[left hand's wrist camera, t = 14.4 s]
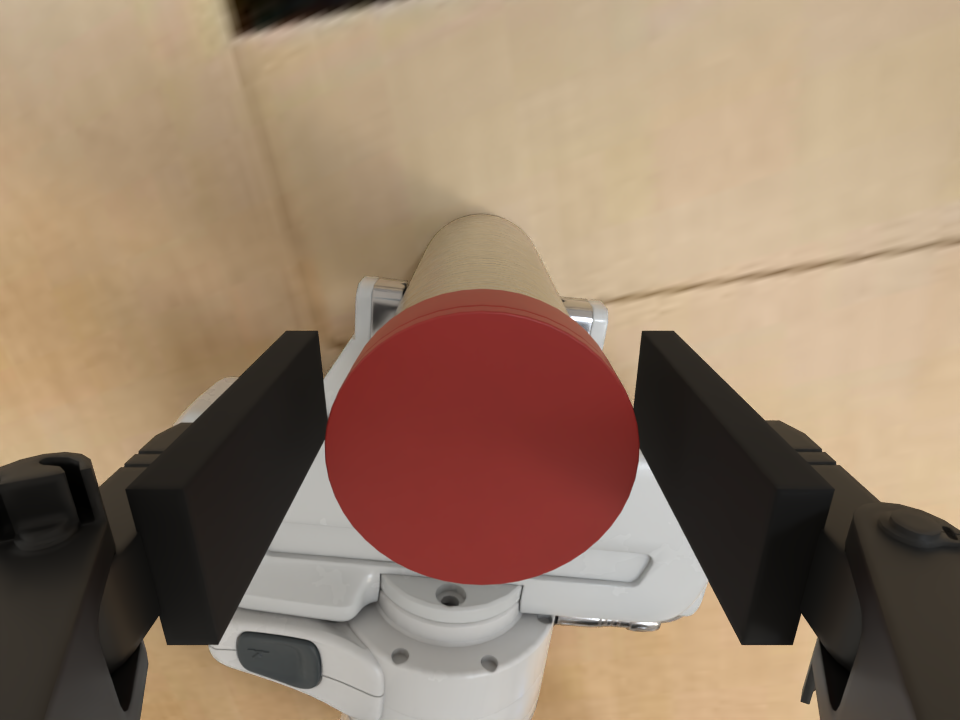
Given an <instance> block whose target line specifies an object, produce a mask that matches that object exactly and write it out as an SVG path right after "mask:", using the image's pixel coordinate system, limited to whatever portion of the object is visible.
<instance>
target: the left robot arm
mask: <svg viewBox="0 0 960 720" xmlns="http://www.w3.org/2000/svg"><path fill="white" fill-rule="evenodd" d="M633 410H634V413H635V417H636V421H637V425H638V433H639V442H640V447H639V448H640V450H641V452H642V454H643V456H644V458H645V460H646V462H647V464H648V465H649V467H650V469H651V471H652V473H653V475H654V477H655V479H656V481H657V483H658V485H659V487H660V489H661V491H662V492H663V494H664V496H665V498H666V500H667V502H668V504H669V506H670V508H671V510H672V512H673V514H674V516H675V517H676V519H677V521H678V523H679V525H680V527H681V529H682V531H683V533H684V535H685V537H686V539H687V541H688V543H689V544H690V546H691V548H692V550H693V552H694V554H695V556H696V558H697V560H698V562H699V564H700V566H701V568H702V569H703V571H704V573H705V575H706V577H707V579H708V581H709V583H710V585H711V587H712V589H713V591H714V593H715V595H716V596H717V598H718V600H719V602H720V604H721V606H722V608H723V610H724V612H725V614H726V616H727V618H728V620H729V621H730V623H731V625H732V627H733V629H734V631H735V633H736V635H737V637H738V639H739V641H740V643H741V645H793V642H794V638H795V635H796V631H797V627H798V624H799V620H800V616H801V613H802V615H803V616H804V618H805V619H806V621H807V622H808V623H809V625H810V626H811V628H812V629H813V631H814V632H815V634H816V635H817V637H818V638H817V641H816V645H815V648H814V652H813V655H812V658H811V662H810V665H809V669H808V672H807V676H806V679H805V682H804V686H803V689H802V696H801V702H803V703H806V704H810V700H811V697H812V694H813V691H815V690H816V695H817V701H818V708H819V715H820V720H960V530H958V529H957V528H955V527H954V526H952V525H951V524H949V523H948V522H946V521H945V520H943V519H940V518H938V517H936V516H933V515H931V514H929V513H927V512H924V511H922V510H919V509H915V508H911V507H908V506H904V505H901V504H893V503H884V502H880V501H879V500H878V499H877V498H876V497H875V496H873V495H872V494H871V493H870V492H869V491H868V490H867V489H866V488H865V487H863V486H862V485H861V484H860V483H859V482H858V481H857V480H856V479H855V478H853V477H852V476H851V475H850V474H849V473H848V472H847V471H846V470H845V469H843V468H842V467H841V466H840V465H836V461H835V460H833V459H832V458H831V457H830V456H829V455H828V454H827V453H826V452H822V449H821V448H820V447H819V446H818V445H817V444H816V443H815V442H813V441H812V440H811V439H810V438H809V437H808V436H807V435H806V434H804V433H803V432H801V431H799V430H797V429H795V428H793V427H791V426H789V425H787V424H785V423H783V422H781V421H765V420H764V419H763V418H762V417H761V416H760V415H759V414H758V413H757V412H756V411H755V410H754V409H753V408H752V407H751V406H750V405H749V404H748V403H747V402H746V401H745V400H744V399H743V398H742V397H741V396H739V395H738V394H737V393H736V392H735V391H734V390H733V389H732V388H731V387H730V386H729V385H728V384H727V383H726V382H725V381H724V380H723V379H722V378H721V377H720V376H719V375H718V374H717V373H716V372H715V371H714V370H713V369H712V368H711V367H710V366H709V365H708V364H707V363H706V362H705V361H704V360H703V359H702V358H701V357H700V356H699V355H698V354H697V353H696V352H695V351H694V350H693V349H692V348H691V347H690V346H689V345H688V344H686V343H685V342H684V341H683V340H682V339H681V338H680V337H679V336H678V335H677V334H676V333H675V332H674V331H642V336H641V345H640V354H639V363H638V372H637V381H636V390H635V399H634V408H633ZM327 422H328V417H327V408H326V399H325V390H324V381H323V372H322V363H321V354H320V345H319V336H318V331H286V332H285V333H284V334H283V335H282V336H281V337H280V338H279V339H278V340H277V341H276V342H275V343H273V344H272V345H271V346H270V347H269V348H268V349H267V350H266V351H265V352H264V353H263V354H262V355H261V356H260V357H259V358H258V359H257V360H256V361H255V362H254V363H253V364H252V365H251V366H250V367H249V368H248V369H247V370H246V371H245V372H244V373H243V374H242V375H241V376H240V377H239V378H238V379H237V380H236V381H235V382H234V383H233V384H232V385H231V386H230V387H229V388H228V389H227V390H226V391H225V392H224V393H223V394H222V395H220V396H219V397H218V398H217V399H216V400H215V401H214V402H213V403H212V404H211V405H210V406H209V407H208V408H207V409H206V410H205V411H204V412H203V413H202V414H201V415H200V416H199V417H198V418H197V419H196V420H195V421H194V422H181V423H179V424H177V425H175V426H173V427H171V428H169V429H167V430H166V431H164V432H162V433H160V434H158V435H156V436H155V437H154V438H153V439H151V440H150V441H149V442H148V443H147V444H146V445H145V446H144V447H143V448H142V449H140V450H139V454H135V455H134V456H133V457H132V458H131V459H129V460H128V461H127V462H126V463H125V464H124V465H125V466H124V467H121V468H120V469H118V470H117V471H116V472H115V473H114V474H113V475H112V476H111V477H110V478H109V479H107V480H106V481H105V482H104V483H103V484H102V485H101V486H100V487H98V483H97V480H96V476H95V473H94V469H93V466H92V462H91V459H89V458H87V457H86V456H84V455H83V454H78V453H69V452H61V453H50V454H42V455H38V456H34V457H30V458H25V459H21V460H18V461H15V462H13V463H10V464H7V465H5V466H2V467H0V720H140V716H141V710H142V703H143V696H144V690H145V683H146V676H147V669H148V658H147V652H146V648H145V645H144V641H143V638H144V637H145V635H146V634H147V632H148V631H149V630H150V628H151V627H152V625H153V624H154V622H155V621H156V619H157V618H158V616H160V620H161V624H162V627H163V631H164V635H165V639H166V642H167V645H219V643H220V641H221V639H222V637H223V635H224V633H225V631H226V629H227V627H228V625H229V623H230V621H231V620H232V618H233V616H234V614H235V612H236V610H237V608H238V606H239V604H240V602H241V600H242V598H243V596H244V594H245V593H246V591H247V589H248V587H249V585H250V583H251V581H252V579H253V577H254V575H255V573H256V571H257V569H258V568H259V566H260V564H261V562H262V560H263V558H264V556H265V554H266V552H267V550H268V548H269V546H270V544H271V542H272V541H273V539H274V537H275V535H276V533H277V531H278V529H279V527H280V525H281V523H282V521H283V519H284V517H285V516H286V514H287V512H288V510H289V508H290V506H291V504H292V502H293V500H294V498H295V496H296V494H297V492H298V490H299V489H300V487H301V485H302V483H303V481H304V479H305V477H306V475H307V473H308V471H309V469H310V467H311V465H312V464H313V462H314V460H315V458H316V456H317V454H318V452H319V450H320V448H321V446H322V444H323V442H324V440H325V435H326V426H327Z"/></svg>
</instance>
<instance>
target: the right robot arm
mask: <svg viewBox="0 0 960 720" xmlns="http://www.w3.org/2000/svg"><path fill="white" fill-rule="evenodd" d="M407 287H408V281H405V280H397V279H388V278H380V277H373V276H364V277H363V279H362V280H361V281H360V282H359V284H358V288H357V294H356V308H355V333H354V334H353V336H352V337H351V339H350V340H349V342H348V343H347V345H346V346H345V348H344V349H343V351H342V352H341V354H340V355H339V357H338V358H337V360H336V361H335V363H334V364H333V366H332V367H331V369H330V370H329V372H328V373H327V375H326V376H325V378H324V379H323V381H324V390H325V399H326V408H327V417H328V418H329V414H330V411H331V407H332V405H333V403H334V400H335V398H336V396H337V393H338V391H339V389H340V387H341V386H342V384H343V382H344V380H345V379H346V377H347V375H348V373H349V371H350V370H351V368H352V366H353V364H354V363H355V361H356V359H357V358H358V356H359V354H360V353H361V351H362V350H363V348H364V346H365V345H366V344H367V343H368V341H369V340H370V339H371V338H372V337H373V335H374V334H375V333H376V332H377V331H378V330H379V329H380V328H381V327H382V326H384V325H385V324H386V323H387V322H388V321H389V320H390V319H392V318H393V316H394V314H395V312H396V310H397V308H398V306H399V304H400V301H401V299H402V297H403V295H404V293H405V291H406V289H407ZM560 298H561V300H562V302H563V304H564V306H565V308H566V310H567V312H568V314H569V316H570V317H571V318H572V319H574V320H575V321H576V322H577V323H578V324H579V325H580V326H581V327H583V328H584V329H585V330H586V331H587V332H588V333H589V334H590V336H591V337H592V338H593V339H594V340H595V341H596V343H597V344H598V345H599V347H600V348H601V350H603V345H604V340H605V335H606V330H607V325H608V310H607V308H606V307H605V305H604V304H603V303H602V301H599V300H589V299H580V298H569V297H560ZM238 378H239V377H225V378H223V379H221V380H219V381H217V382H216V383H215V384H214V385H212V386H211V387H210V388H209V389H207V390H206V391H205V392H204V393H202V394H201V395H200V396H199V397H198V398H196V399H195V400H194V401H193V402H192V403H191V404H190V405H189V406H188V407H187V408H186V409H185V410H184V412H183V413H182V414H181V415H180V416H179V418H178V419H177V420H176V422H175V423H174V424H173V426H175V425H177V424H179V423H181V422H194V421H195V420H196V419H197V418H198V417H199V416H200V415H201V414H202V413H203V412H204V411H205V410H206V409H207V408H208V407H209V406H210V405H211V404H212V403H213V402H214V401H215V400H216V399H217V398H218V397H219V396H220V395H222V394H223V393H224V392H225V391H226V390H227V389H228V388H229V387H230V386H231V385H232V384H233V383H234V382H235V381H236V380H237V379H238ZM173 426H172V427H173ZM707 584H708V579H707V577H706V575H705V573H704V571H703V569H702V568H701V566H700V564H699V562H698V560H697V558H696V556H695V554H694V552H693V550H692V548H691V546H690V544H689V543H688V541H687V539H686V537H685V535H684V533H683V531H682V529H681V527H680V525H679V523H678V521H677V519H676V517H675V516H674V514H673V512H672V510H671V508H670V506H669V504H668V502H667V500H666V498H665V496H664V494H663V492H662V491H661V489H660V487H659V485H658V483H657V481H656V479H655V477H654V475H653V473H652V471H651V469H650V467H649V465H648V464H647V462H646V460H645V458H644V456H643V454H642V452H641V450H640V448H639V463H638V468H637V474H636V479H635V482H634V485H633V487H632V490H631V493H630V496H629V498H628V500H627V502H626V504H625V506H624V508H623V510H622V512H621V513H620V515H619V516H618V517H617V519H616V520H615V522H614V523H613V525H612V526H611V527H610V528H609V529H608V530H607V532H606V533H605V534H604V535H603V536H602V537H601V538H600V539H599V540H598V541H597V542H596V543H595V544H593V545H592V546H591V547H590V548H589V549H588V550H586V551H585V552H584V553H582V554H581V555H579V556H578V557H576V558H575V559H573V560H572V561H570V562H568V563H566V564H565V565H563V566H561V567H559V568H557V569H555V570H553V571H550V572H547V573H545V574H542V575H539V576H537V577H533V578H529V579H526V580H522V581H518V582H511V583H505V584H494V585H470V584H459V583H453V582H446V581H442V580H438V579H434V578H431V577H427V576H424V575H422V574H419V573H417V572H414V571H411V570H409V569H407V568H405V567H403V566H401V565H399V564H397V563H395V562H394V561H392V560H391V559H389V558H388V557H386V556H385V555H383V554H382V553H380V552H379V551H377V550H376V549H375V548H374V547H373V546H372V545H370V544H369V543H368V542H367V541H366V540H365V539H364V538H363V537H362V536H361V535H360V534H359V533H358V532H357V531H356V529H355V528H354V527H353V526H352V525H351V523H350V522H349V520H348V519H347V517H346V516H345V515H344V513H343V512H342V510H341V508H340V506H339V504H338V502H337V500H336V498H335V496H334V493H333V490H332V487H331V484H330V481H329V478H328V473H327V468H326V463H325V440H324V442H323V444H322V446H321V448H320V450H319V452H318V454H317V456H316V458H315V460H314V462H313V464H312V465H311V467H310V469H309V471H308V473H307V475H306V477H305V479H304V481H303V483H302V485H301V487H300V489H299V490H298V492H297V494H296V496H295V498H294V500H293V502H292V504H291V506H290V508H289V510H288V512H287V514H286V516H285V517H284V519H283V521H282V523H281V525H280V527H279V529H278V531H277V533H276V535H275V537H274V539H273V541H272V542H271V544H270V546H269V548H268V550H267V552H266V554H265V556H264V558H263V560H262V562H261V564H260V566H259V568H258V569H257V571H256V573H255V575H254V577H253V579H252V581H251V583H250V585H249V587H248V589H247V591H246V593H245V594H244V596H243V598H242V600H241V602H240V604H239V606H238V608H237V610H236V612H235V614H234V616H233V618H232V620H231V621H230V623H229V625H228V627H227V629H226V631H225V633H224V635H223V637H222V639H221V641H220V643H219V645H208V647H209V650H210V653H211V655H212V656H213V657H214V658H215V659H216V660H217V661H218V662H220V663H221V664H223V665H225V666H228V667H230V668H233V669H236V670H239V671H242V672H246V673H249V674H252V675H255V676H259V677H262V678H265V679H268V680H271V681H274V682H276V683H279V684H282V685H285V686H287V687H290V688H293V689H295V690H297V691H300V692H302V693H305V694H307V695H309V696H311V697H314V698H316V699H318V700H320V701H322V702H324V703H326V704H328V705H330V706H331V707H333V708H335V709H337V710H339V711H340V712H342V714H341V718H340V720H531V719H532V717H533V714H534V712H535V709H536V705H537V702H538V698H539V693H540V688H541V684H542V679H543V674H544V669H545V664H546V659H547V654H548V649H549V645H550V640H551V635H552V630H553V626H554V625H564V626H576V627H620V628H626V629H627V630H631V631H637V632H650V631H656V630H658V629H659V628H660V625H661V623H666V622H671V621H675V620H677V619H680V618H682V617H684V616H690V615H692V614H694V613H695V612H696V610H697V609H698V608H699V606H700V604H701V602H702V599H703V596H704V593H705V590H706V587H707Z"/></svg>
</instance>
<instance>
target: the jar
mask: <svg viewBox="0 0 960 720" xmlns="http://www.w3.org/2000/svg"><path fill="white" fill-rule="evenodd" d="M471 289H493V290H504V291H509V292H514V293H520V294H523V295H526V296H529V297H532V298H535V299H538V300H541V301H543V302H545V303H547V304H549V305H551V306H553V307H555V308H557V309H559V310H560V311H562V312H563V313H565V314H566V315H568V316H569V314H568V312H567V310H566V308H565V306H564V304H563V302H562V300H561V298H560V296H559V294H558V292H557V290H556V288H555V286H554V284H553V282H552V280H551V278H550V276H549V274H548V272H547V270H546V268H545V267H544V265H543V263H542V261H541V259H540V257H539V255H538V253H537V251H536V249H535V247H534V245H533V243H532V242H531V240H530V239H529V238H528V236H527V235H526V234H525V233H524V232H523V231H522V230H521V229H520V228H519V227H517V226H516V225H515V224H513V223H512V222H510V221H508V220H506V219H503V218H500V217H497V216H493V215H485V214H477V215H469V216H465V217H462V218H459V219H456V220H454V221H452V222H450V223H449V224H447V225H446V226H445V227H443V228H442V229H441V230H440V231H439V232H438V233H437V234H436V235H435V236H434V237H433V239H432V240H431V242H430V243H429V245H428V247H427V249H426V251H425V253H424V255H423V257H422V259H421V261H420V263H419V265H418V267H417V269H416V271H415V273H414V275H413V277H412V279H411V281H410V283H409V285H408V287H407V289H406V291H405V293H404V295H403V297H402V299H401V301H400V304H399V306H398V308H397V310H396V312H395V314H394V316H393V317H395V316H396V315H398V314H399V313H401V312H402V311H404V310H405V309H407V308H409V307H411V306H413V305H415V304H417V303H419V302H421V301H423V300H426V299H429V298H432V297H435V296H438V295H441V294H445V293H450V292H455V291H460V290H471ZM569 317H570V316H569Z"/></svg>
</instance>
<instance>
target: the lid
mask: <svg viewBox="0 0 960 720" xmlns="http://www.w3.org/2000/svg"><path fill="white" fill-rule="evenodd" d="M639 447H640V442H639V433H638V425H637V421H636V417H635V413H634V410H633V406H632V404H631V402H630V400H629V397H628V395H627V393H626V390H625V389H624V387H623V385H622V383H621V382H620V380H619V378H618V377H617V375H616V373H615V371H614V370H613V368H612V366H611V364H610V363H609V361H608V359H607V358H606V356H605V355H604V353H603V351H602V350H601V348H600V347H599V345H598V344H597V343H596V341H595V340H594V339H593V338H592V337H591V336H590V334H589V333H588V332H587V331H586V330H585V329H584V328H583V327H581V326H580V325H579V324H578V323H577V322H576V321H575V320H574V319H572V318H571V317H569V316H568V315H566V314H565V313H563V312H562V311H560V310H559V309H557V308H555V307H553V306H551V305H549V304H547V303H545V302H543V301H541V300H538V299H535V298H532V297H529V296H526V295H523V294H520V293H514V292H509V291H504V290H493V289H471V290H460V291H455V292H450V293H445V294H441V295H438V296H435V297H432V298H429V299H426V300H423V301H421V302H419V303H417V304H415V305H413V306H411V307H409V308H407V309H405V310H404V311H402V312H401V313H399V314H398V315H396V316H395V317H393V318H392V319H390V320H389V321H388V322H387V323H386V324H385V325H384V326H382V327H381V328H380V329H379V330H378V331H377V332H376V333H375V334H374V335H373V337H372V338H371V339H370V340H369V341H368V343H367V344H366V345H365V346H364V348H363V350H362V351H361V353H360V354H359V356H358V358H357V359H356V361H355V363H354V364H353V366H352V368H351V370H350V371H349V373H348V375H347V377H346V379H345V380H344V382H343V384H342V386H341V387H340V389H339V391H338V393H337V396H336V398H335V400H334V403H333V405H332V407H331V411H330V414H329V418H328V422H327V426H326V435H325V463H326V468H327V473H328V478H329V481H330V484H331V487H332V490H333V493H334V496H335V498H336V500H337V502H338V504H339V506H340V508H341V510H342V512H343V513H344V515H345V516H346V517H347V519H348V520H349V522H350V523H351V525H352V526H353V527H354V528H355V529H356V531H357V532H358V533H359V534H360V535H361V536H362V537H363V538H364V539H365V540H366V541H367V542H368V543H369V544H370V545H372V546H373V547H374V548H375V549H376V550H377V551H379V552H380V553H382V554H383V555H385V556H386V557H388V558H389V559H391V560H392V561H394V562H395V563H397V564H399V565H401V566H403V567H405V568H407V569H409V570H411V571H414V572H417V573H419V574H422V575H424V576H427V577H431V578H434V579H438V580H442V581H446V582H453V583H459V584H470V585H494V584H505V583H511V582H518V581H522V580H526V579H529V578H533V577H537V576H539V575H542V574H545V573H547V572H550V571H553V570H555V569H557V568H559V567H561V566H563V565H565V564H566V563H568V562H570V561H572V560H573V559H575V558H576V557H578V556H579V555H581V554H582V553H584V552H585V551H586V550H588V549H589V548H590V547H591V546H592V545H593V544H595V543H596V542H597V541H598V540H599V539H600V538H601V537H602V536H603V535H604V534H605V533H606V532H607V530H608V529H609V528H610V527H611V526H612V525H613V523H614V522H615V520H616V519H617V517H618V516H619V515H620V513H621V512H622V510H623V508H624V506H625V504H626V502H627V500H628V498H629V496H630V493H631V490H632V487H633V485H634V482H635V479H636V474H637V468H638V463H639Z"/></svg>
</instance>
